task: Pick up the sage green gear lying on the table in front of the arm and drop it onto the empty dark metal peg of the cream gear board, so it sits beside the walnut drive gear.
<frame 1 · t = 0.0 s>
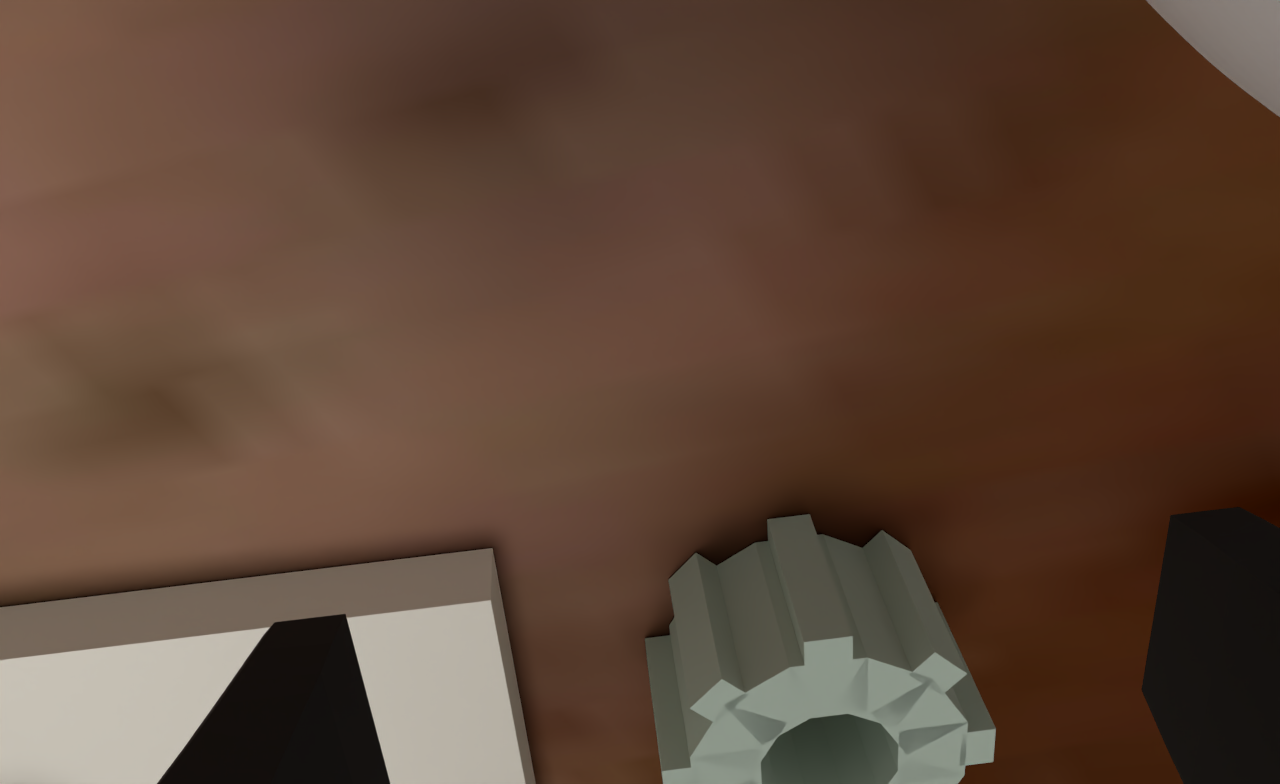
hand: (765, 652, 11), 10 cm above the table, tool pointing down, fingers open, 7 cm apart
sage gear: (792, 635, 24), on the table
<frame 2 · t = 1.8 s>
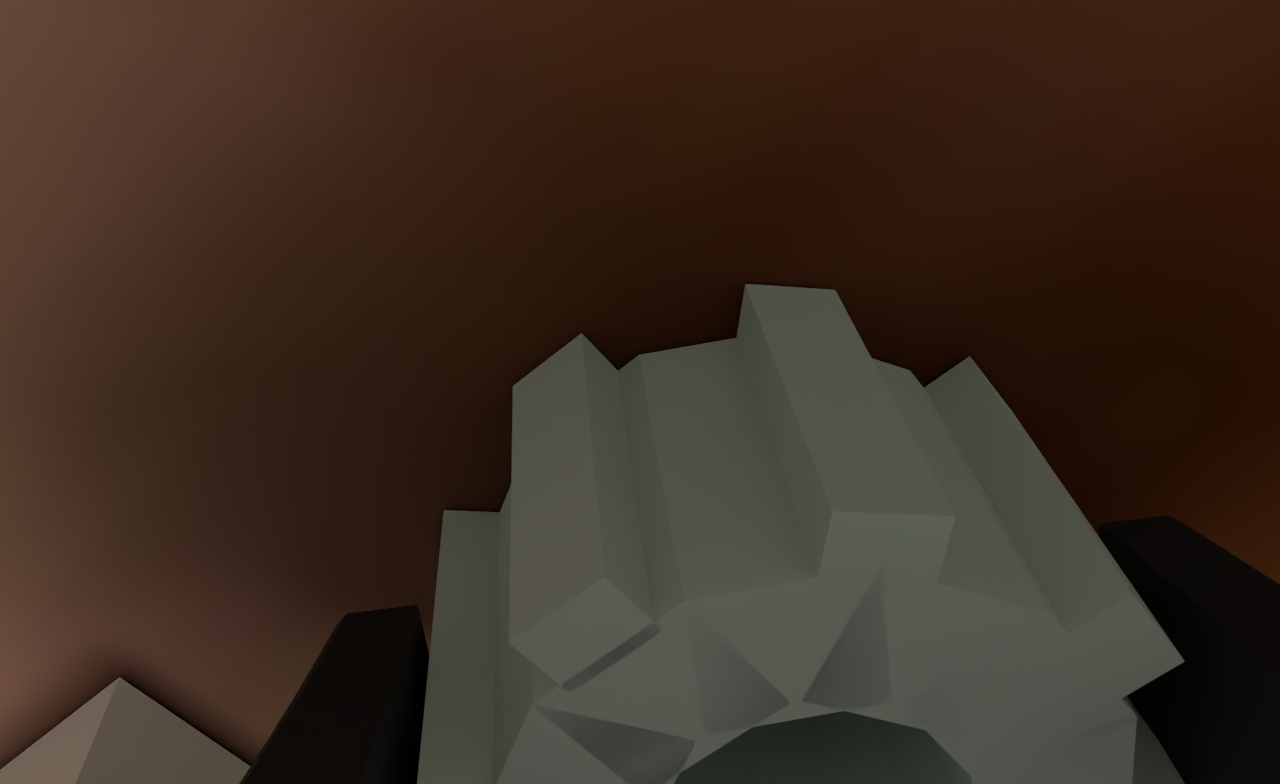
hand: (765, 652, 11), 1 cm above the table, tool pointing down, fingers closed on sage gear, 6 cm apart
sage gear: (740, 555, 12), on the table, touching gripper
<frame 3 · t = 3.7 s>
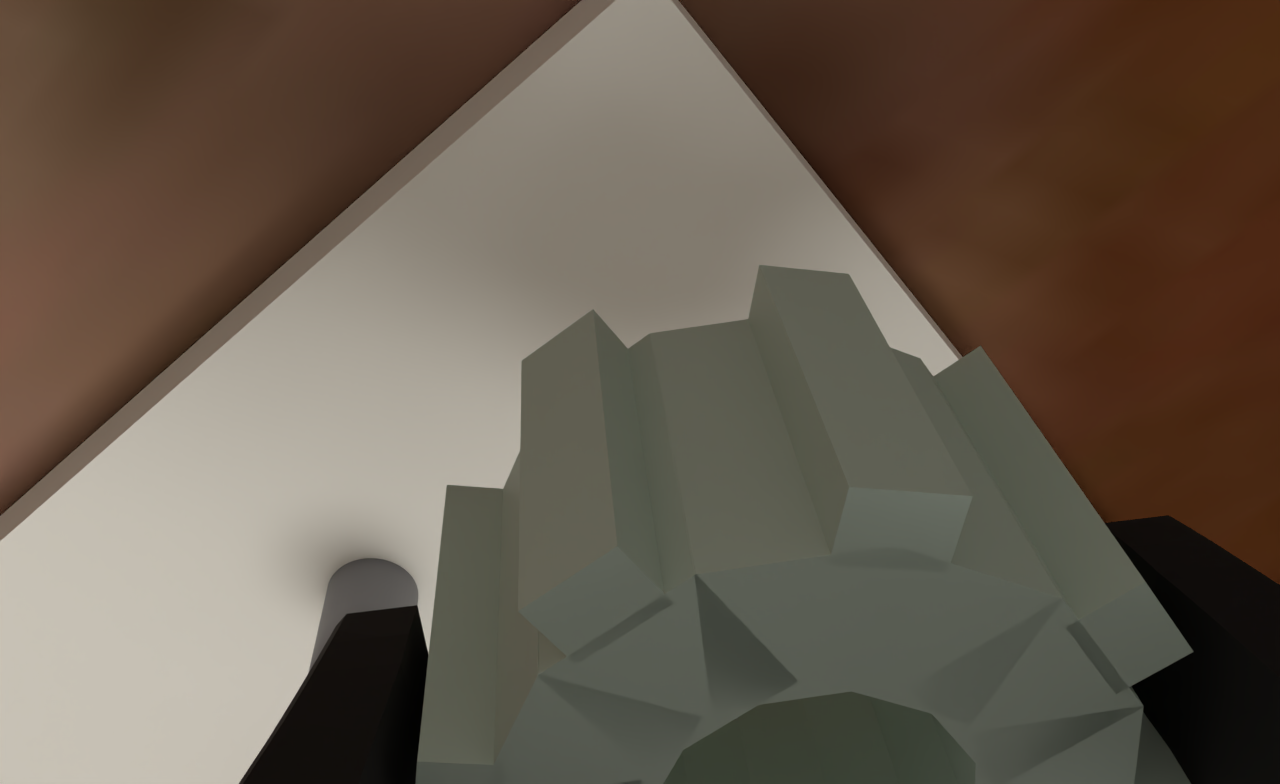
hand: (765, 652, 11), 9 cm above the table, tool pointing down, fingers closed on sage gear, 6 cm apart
gear board: (519, 603, 21), on the table
sage gear: (743, 540, 12), point 7 cm above the table, touching gripper
when the fingers open (4 cm above the table, at t = 5.9 s): sage gear stays where it is, resting on gear board.
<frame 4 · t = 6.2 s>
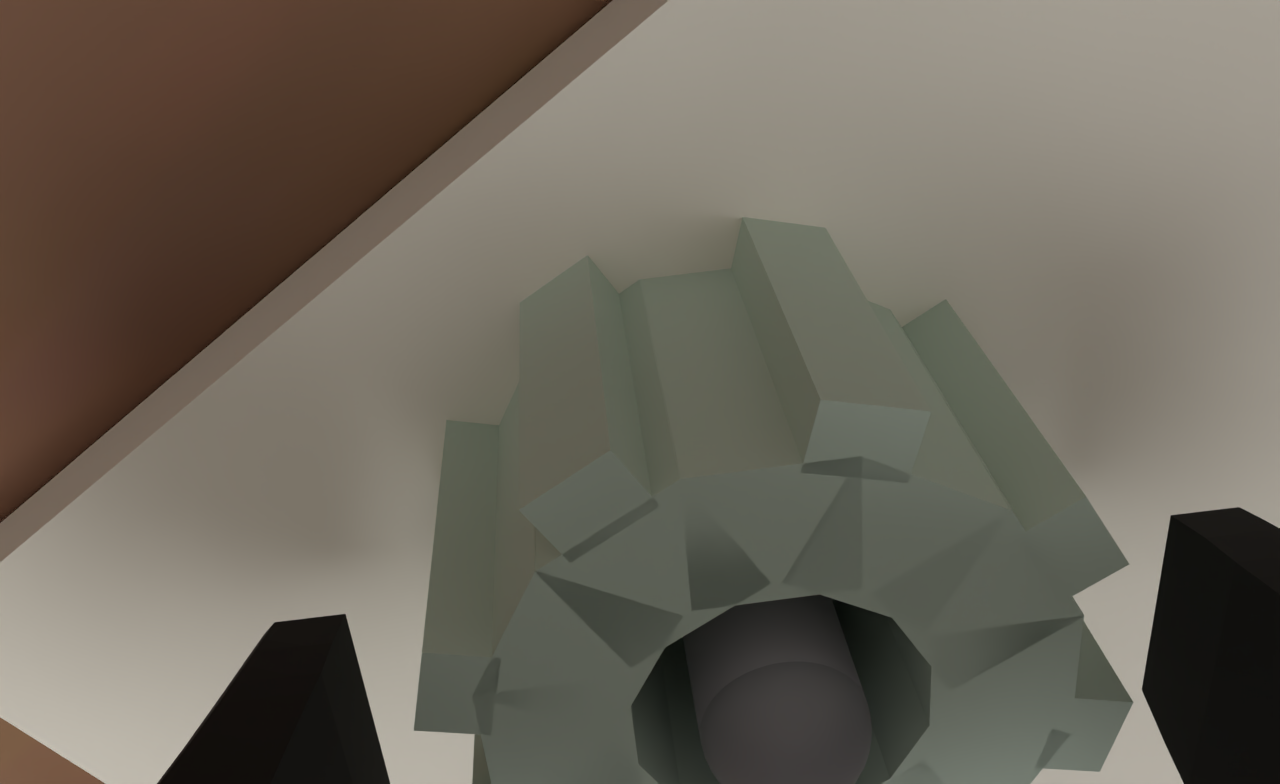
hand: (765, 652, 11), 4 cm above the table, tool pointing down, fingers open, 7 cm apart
gear board: (878, 526, 15), on the table
sage gear: (722, 480, 13), point 1 cm above the table, touching gear board
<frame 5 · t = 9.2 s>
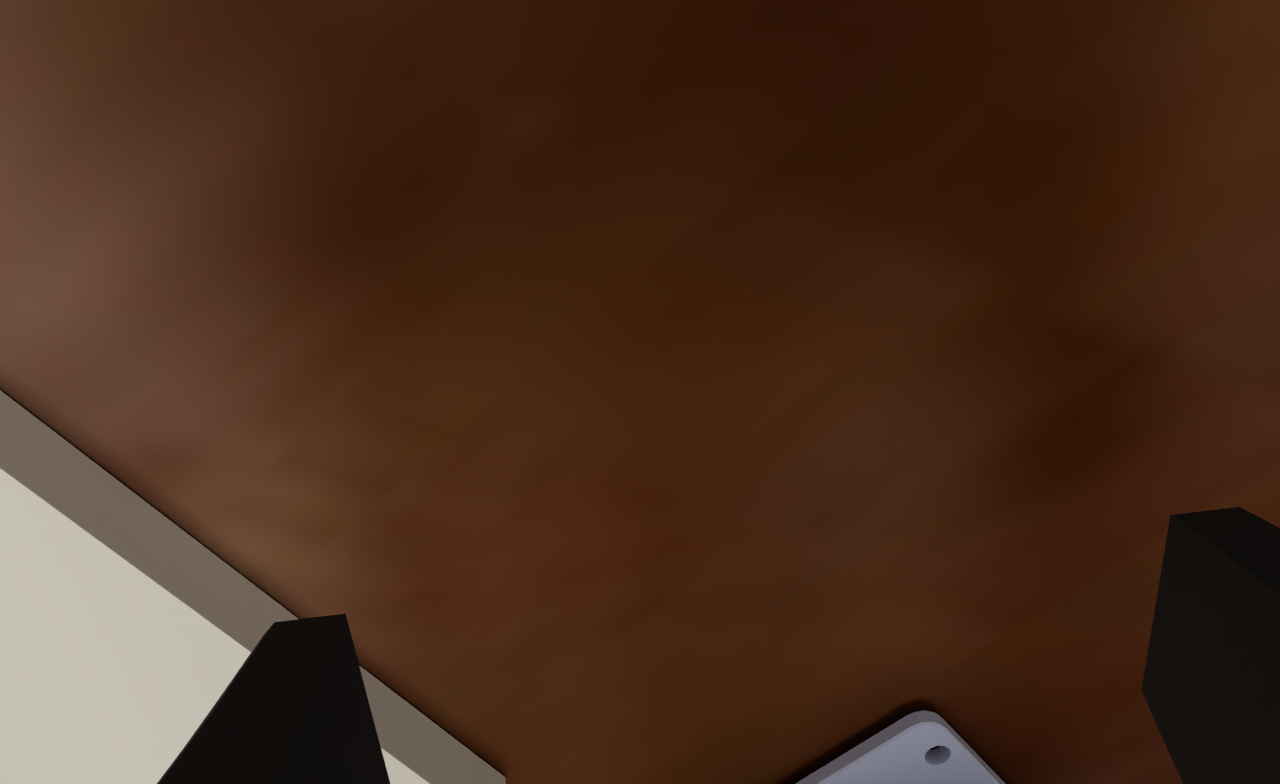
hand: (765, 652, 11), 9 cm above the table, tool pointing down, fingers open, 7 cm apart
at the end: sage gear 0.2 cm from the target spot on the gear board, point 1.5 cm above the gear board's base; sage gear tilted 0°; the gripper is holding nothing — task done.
